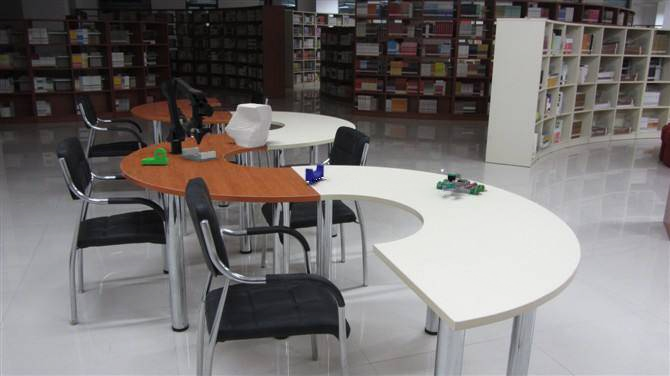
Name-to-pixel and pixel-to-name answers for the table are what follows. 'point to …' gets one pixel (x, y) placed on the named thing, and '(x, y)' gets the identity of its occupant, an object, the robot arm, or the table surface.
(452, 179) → the robot kit
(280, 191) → the table surface
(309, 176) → the cable clip
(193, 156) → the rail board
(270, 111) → the white faceted sculpture
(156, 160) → the mechanical part
